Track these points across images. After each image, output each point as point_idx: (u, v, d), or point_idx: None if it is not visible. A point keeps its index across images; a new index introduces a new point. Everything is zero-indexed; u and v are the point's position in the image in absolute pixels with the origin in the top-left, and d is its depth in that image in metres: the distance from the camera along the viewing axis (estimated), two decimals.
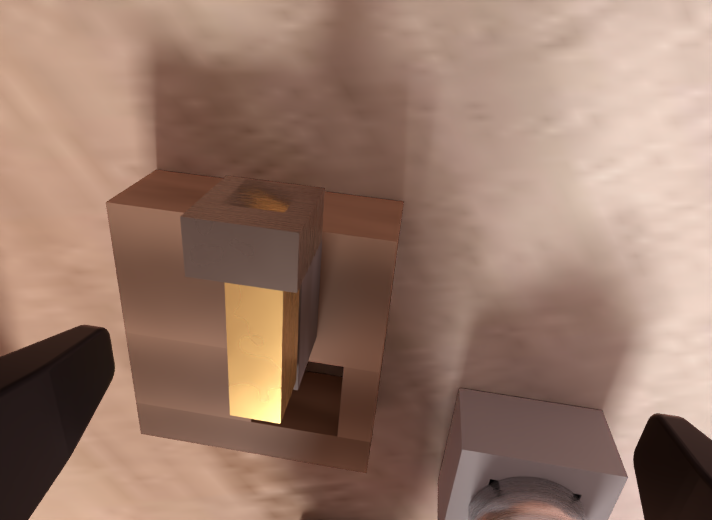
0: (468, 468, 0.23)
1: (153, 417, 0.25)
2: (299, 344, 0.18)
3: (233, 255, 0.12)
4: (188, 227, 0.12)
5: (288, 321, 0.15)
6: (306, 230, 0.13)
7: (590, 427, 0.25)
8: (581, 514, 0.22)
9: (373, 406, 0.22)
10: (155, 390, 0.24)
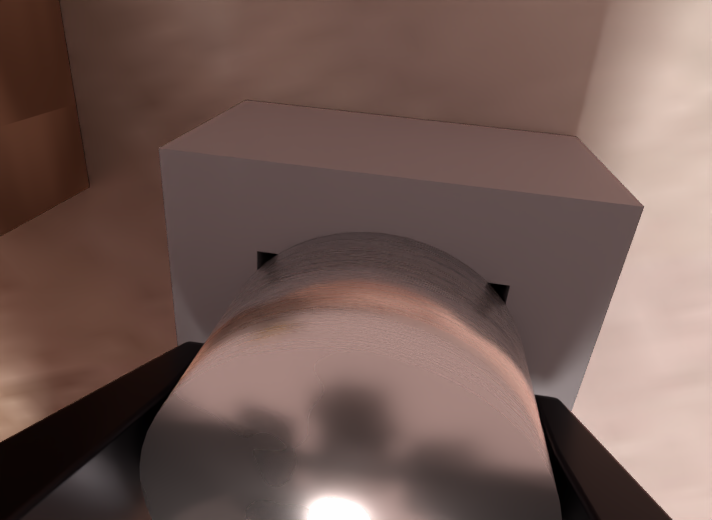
0: (193, 218, 0.08)
1: None
2: None
3: None
4: None
5: None
6: None
7: (542, 149, 0.10)
8: (502, 325, 0.07)
9: None
10: None
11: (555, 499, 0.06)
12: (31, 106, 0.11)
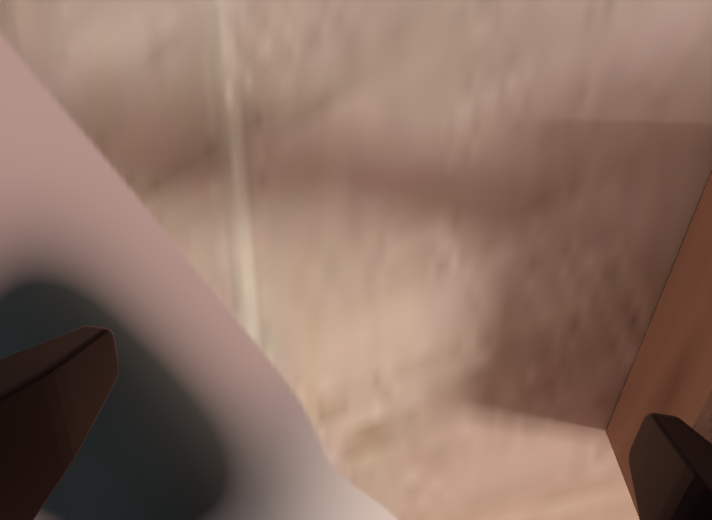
0: None
1: None
2: None
3: None
4: None
5: None
6: None
7: None
8: None
9: None
10: None
11: None
12: None
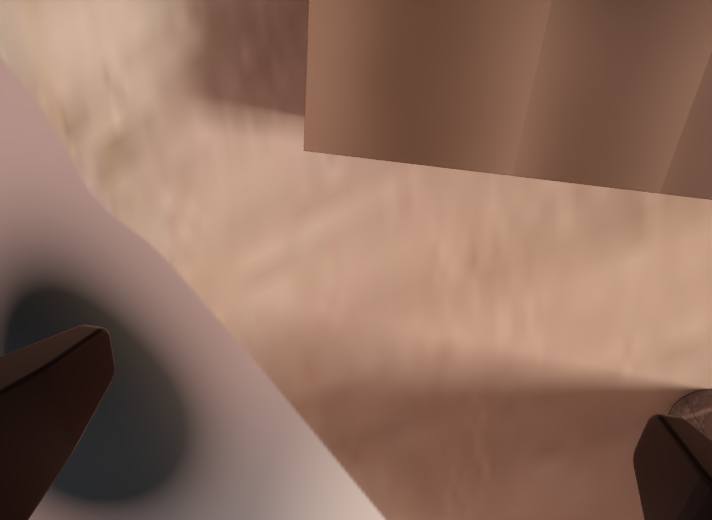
0: None
1: (699, 170, 0.14)
2: None
3: None
4: None
5: None
6: None
7: None
8: None
9: None
10: (635, 152, 0.14)
11: None
12: None
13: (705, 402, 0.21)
